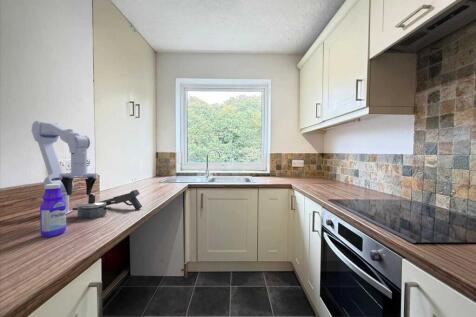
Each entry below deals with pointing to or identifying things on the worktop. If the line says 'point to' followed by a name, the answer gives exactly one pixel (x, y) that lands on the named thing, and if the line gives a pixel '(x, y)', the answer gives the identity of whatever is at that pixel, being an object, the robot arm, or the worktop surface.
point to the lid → (91, 203)
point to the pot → (91, 212)
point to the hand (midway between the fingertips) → (79, 194)
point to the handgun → (126, 199)
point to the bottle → (52, 211)
